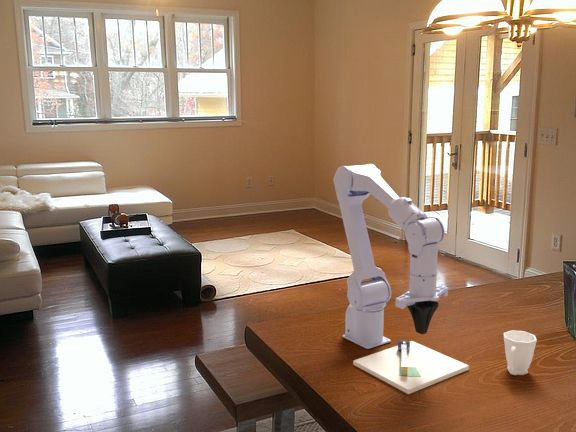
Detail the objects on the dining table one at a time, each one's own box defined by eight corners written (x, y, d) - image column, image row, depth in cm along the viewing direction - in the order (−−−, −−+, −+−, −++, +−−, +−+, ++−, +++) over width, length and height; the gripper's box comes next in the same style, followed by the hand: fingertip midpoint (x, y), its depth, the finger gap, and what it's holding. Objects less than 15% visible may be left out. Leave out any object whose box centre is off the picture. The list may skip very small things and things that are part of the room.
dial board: (353, 364, 132) (353, 360, 132) (411, 344, 142) (412, 340, 142) (408, 394, 118) (408, 389, 118) (468, 369, 129) (468, 365, 129)
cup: (538, 368, 129) (540, 334, 127) (526, 386, 121) (528, 350, 119) (505, 360, 133) (508, 327, 131) (492, 377, 125) (494, 342, 124)
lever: (397, 347, 138) (397, 339, 138) (409, 348, 138) (409, 340, 137) (397, 374, 124) (398, 365, 124) (411, 375, 124) (411, 366, 123)
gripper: (413, 283, 119) (411, 346, 121) (460, 271, 127) (457, 330, 129) (389, 275, 124) (387, 335, 127) (435, 264, 132) (432, 321, 135)
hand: (421, 332), depth 128 cm, fingers closed
